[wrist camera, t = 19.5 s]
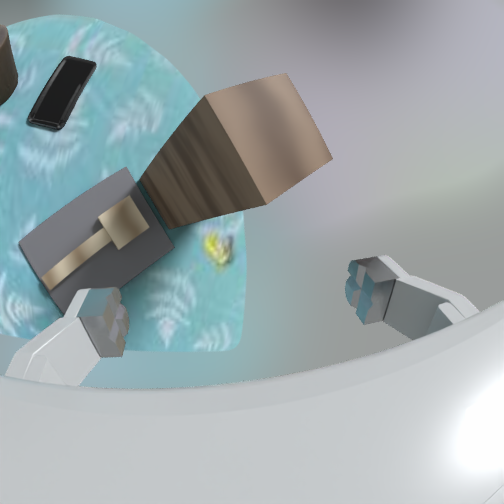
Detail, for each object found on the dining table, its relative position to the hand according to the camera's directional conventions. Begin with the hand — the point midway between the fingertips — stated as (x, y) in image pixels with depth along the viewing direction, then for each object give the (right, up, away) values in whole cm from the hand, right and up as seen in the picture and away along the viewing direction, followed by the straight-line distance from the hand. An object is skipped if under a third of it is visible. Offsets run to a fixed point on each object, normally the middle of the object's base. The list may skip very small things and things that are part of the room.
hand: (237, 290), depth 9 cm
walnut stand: (-12, +12, +37) cm, 40 cm away
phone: (-33, +29, +24) cm, 50 cm away
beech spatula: (-24, +2, +28) cm, 37 cm away
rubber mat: (-24, +2, +29) cm, 38 cm away
